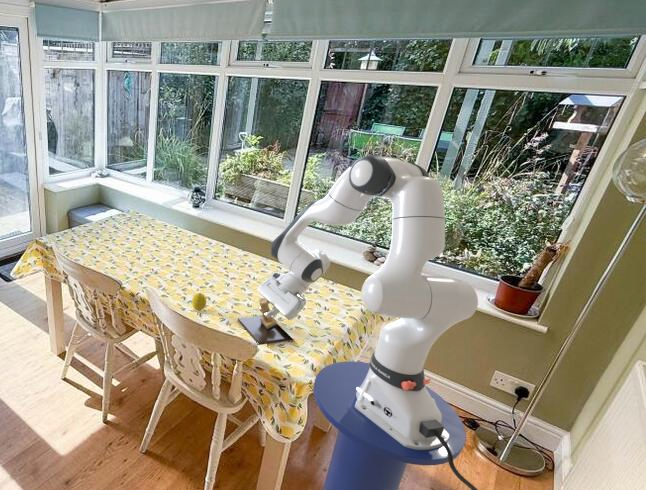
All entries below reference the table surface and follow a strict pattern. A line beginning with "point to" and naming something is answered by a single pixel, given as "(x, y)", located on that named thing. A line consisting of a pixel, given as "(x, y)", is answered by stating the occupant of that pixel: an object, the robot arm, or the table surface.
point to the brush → (267, 322)
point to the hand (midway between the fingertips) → (262, 313)
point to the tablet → (263, 331)
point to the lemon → (199, 301)
